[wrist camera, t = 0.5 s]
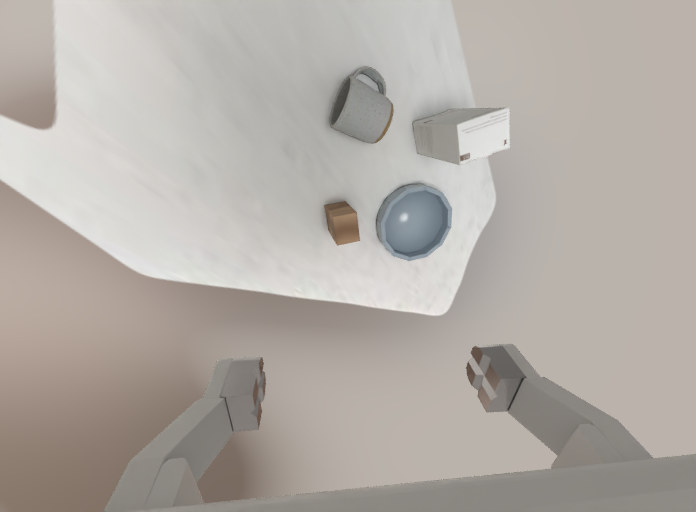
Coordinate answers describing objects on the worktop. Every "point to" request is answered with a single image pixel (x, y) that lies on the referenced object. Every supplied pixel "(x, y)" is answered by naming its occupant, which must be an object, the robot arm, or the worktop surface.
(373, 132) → the ceramic mug
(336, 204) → the walnut block
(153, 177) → the worktop surface
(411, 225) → the slate bowl
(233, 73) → the worktop surface
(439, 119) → the skincare box
